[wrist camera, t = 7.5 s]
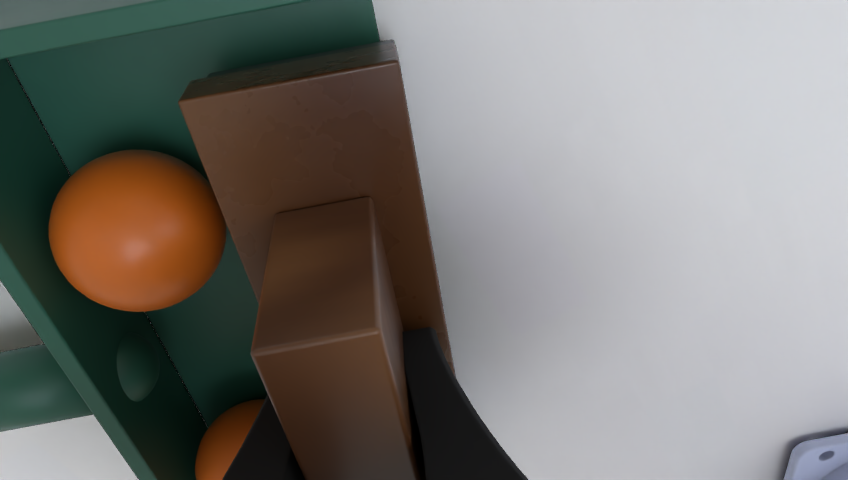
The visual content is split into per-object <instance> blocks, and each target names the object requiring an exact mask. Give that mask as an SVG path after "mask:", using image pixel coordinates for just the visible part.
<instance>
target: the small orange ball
mask: <svg viewBox="0 0 848 480" xmlns="http://www.w3.org/2000/svg"><path fill="white" fill-rule="evenodd" d="M48 227H49V242H50V247H51V251H52V254H53V257H54V260H55V262H56V264H57V266H58V268H59V270H60V271H61V272H62V274H63V275H64V276H65V278H66V279H67V280H68V282H69V283H70V284H71V285H72V286H73V287H74V288H75V289H77V290H78V291H79V292H81V293H82V294H83V295H85V296H86V297H88V298H89V299H91V300H93V301H95V302H97V303H99V304H101V305H104V306H107V307H110V308H113V309H118V310H123V311H132V312H144V311H153V310H159V309H163V308H166V307H170V306H172V305H175V304H177V303H179V302H181V301H183V300H185V299H187V298H188V297H190V296H191V295H193V294H194V293H196V292H197V291H198V290H199V289H200V288H201V287H203V286H204V284H205V283H206V282H207V281H208V280H209V279H210V277H211V276H212V275H213V274H214V272H215V270H216V269H217V267H218V265H219V263H220V260H221V258H222V255H223V252H224V248H225V243H226V235H227V229H226V222H225V219H224V217H223V214H222V212H221V209H220V207H219V204H218V202H217V199H216V197H215V194H214V192H213V189H212V187H211V184H210V183H209V182H208V181H207V180H206V179H205V178H204V177H203V176H202V174H201V173H199V172H198V171H197V170H196V169H194V168H193V167H192V166H190V165H189V164H187V163H185V162H184V161H182V160H180V159H178V158H175V157H173V156H171V155H168V154H164V153H161V152H157V151H151V150H123V151H117V152H113V153H109V154H106V155H104V156H101V157H98V158H96V159H94V160H92V161H90V162H89V163H87V164H85V165H84V166H83V167H81V168H80V169H78V170H77V171H76V172H75V173H74V174H73V175H72V176H71V177H70V178H69V179H68V180H67V181H66V182H65V184H64V185H63V186H62V188H61V189H60V191H59V193H58V194H57V196H56V199H55V201H54V203H53V206H52V209H51V213H50V219H49V226H48Z"/></svg>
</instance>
